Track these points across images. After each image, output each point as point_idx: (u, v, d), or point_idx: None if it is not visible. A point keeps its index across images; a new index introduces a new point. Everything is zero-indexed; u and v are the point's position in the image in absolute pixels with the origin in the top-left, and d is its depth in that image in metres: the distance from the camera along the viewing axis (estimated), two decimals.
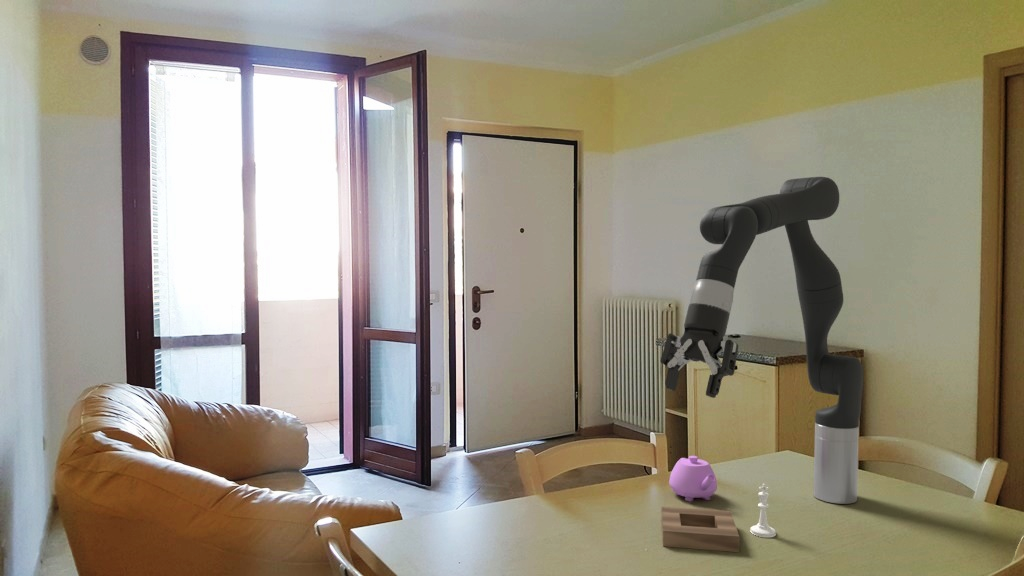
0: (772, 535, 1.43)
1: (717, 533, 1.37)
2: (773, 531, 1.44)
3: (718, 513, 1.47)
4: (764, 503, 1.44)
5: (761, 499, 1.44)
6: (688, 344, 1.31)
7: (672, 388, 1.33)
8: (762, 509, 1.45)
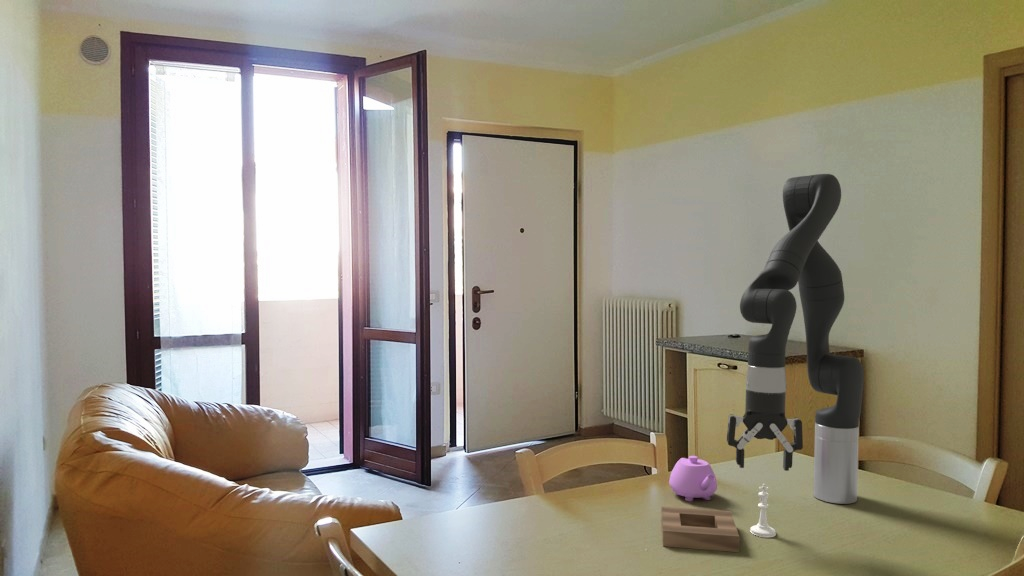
0: (772, 535, 1.43)
1: (717, 533, 1.37)
2: (773, 531, 1.44)
3: (718, 513, 1.47)
4: (764, 503, 1.44)
5: (761, 499, 1.44)
6: (759, 428, 1.43)
7: None
8: (762, 509, 1.45)
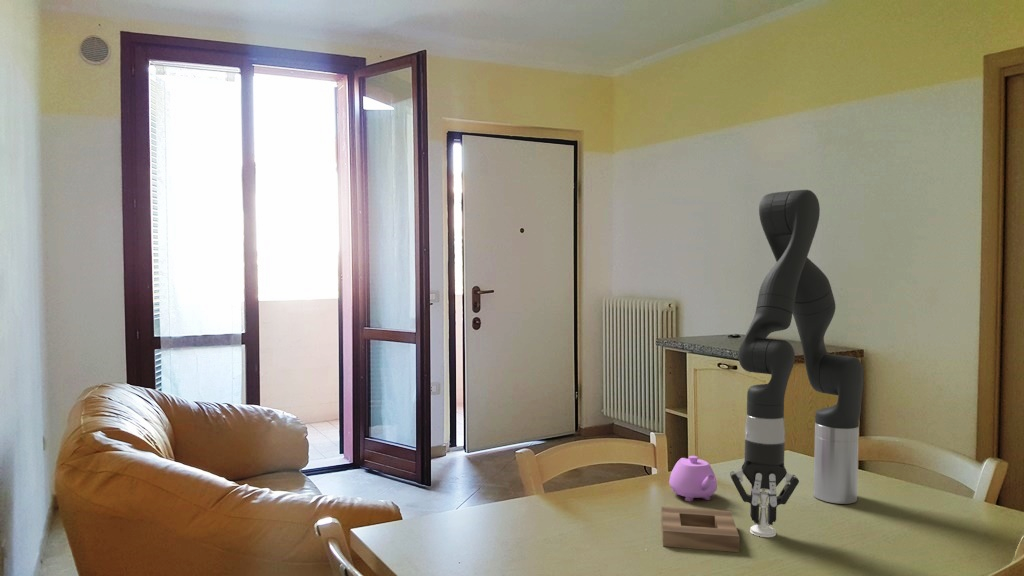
0: (772, 535, 1.43)
1: (717, 533, 1.37)
2: (773, 531, 1.44)
3: (718, 513, 1.47)
4: (764, 503, 1.44)
5: (761, 499, 1.44)
6: (759, 478, 1.43)
7: None
8: (762, 509, 1.45)
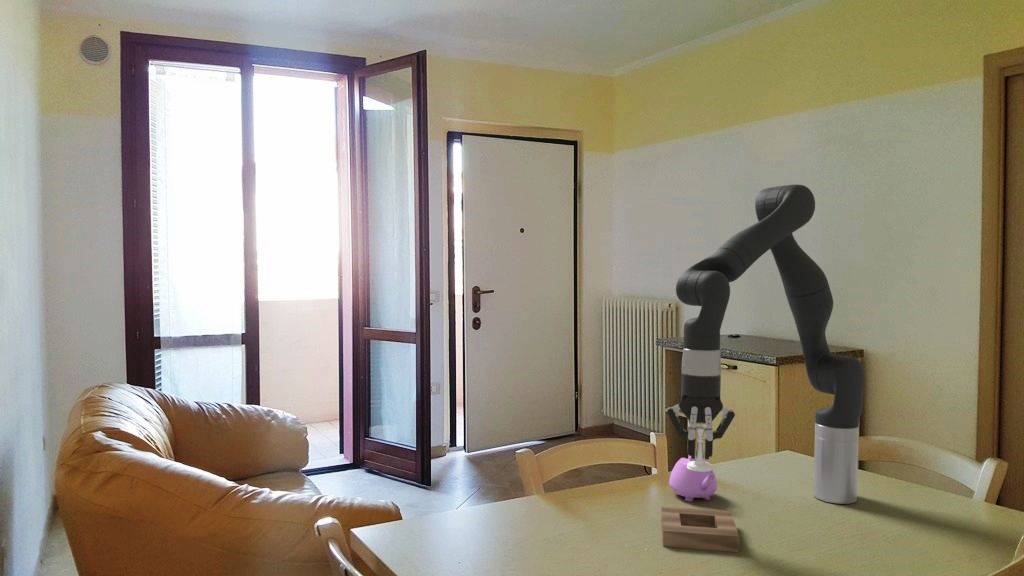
0: (708, 469, 1.41)
1: (717, 533, 1.37)
2: (709, 466, 1.42)
3: (718, 513, 1.47)
4: (700, 437, 1.42)
5: (697, 433, 1.42)
6: (695, 411, 1.41)
7: None
8: (698, 444, 1.42)
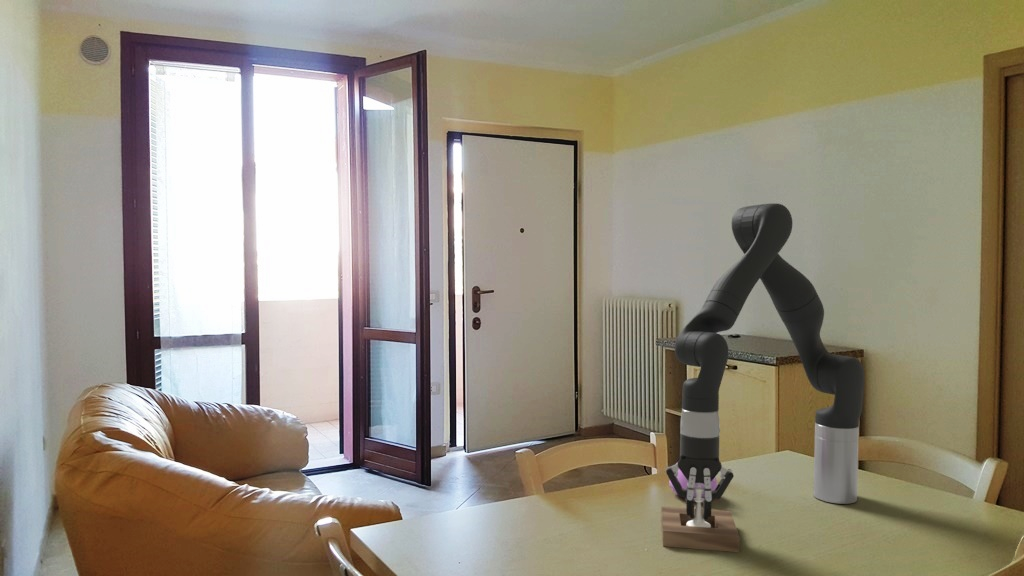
0: None
1: (717, 533, 1.37)
2: (708, 526, 1.42)
3: (718, 513, 1.47)
4: (699, 498, 1.43)
5: (696, 494, 1.43)
6: (694, 472, 1.41)
7: None
8: (697, 504, 1.43)
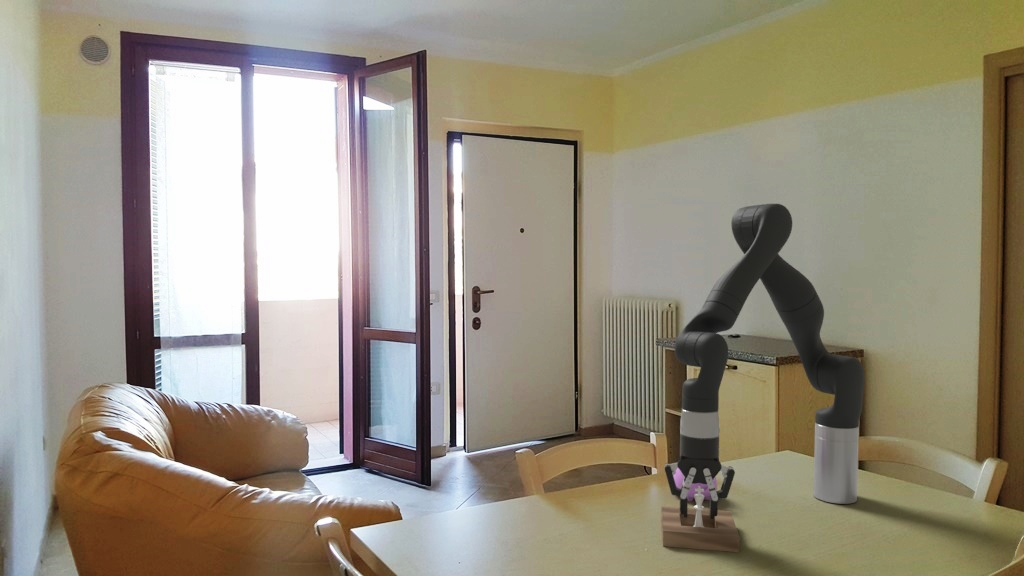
0: None
1: (717, 533, 1.37)
2: None
3: (718, 513, 1.47)
4: (699, 505, 1.43)
5: (696, 501, 1.43)
6: (693, 472, 1.41)
7: None
8: (697, 511, 1.43)
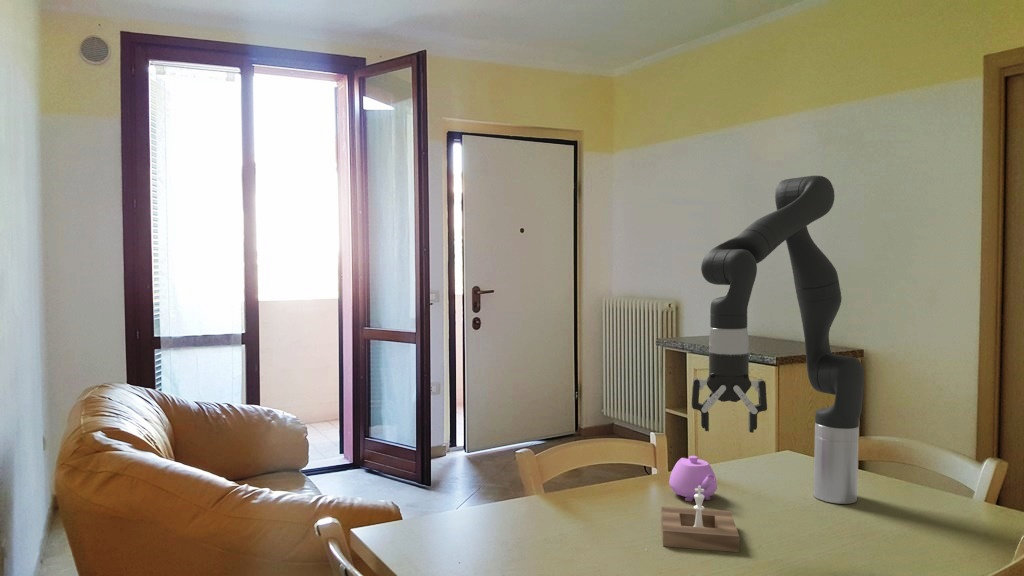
0: None
1: (717, 533, 1.37)
2: None
3: (718, 513, 1.47)
4: (699, 505, 1.43)
5: (696, 501, 1.43)
6: (722, 390, 1.41)
7: None
8: (697, 511, 1.43)
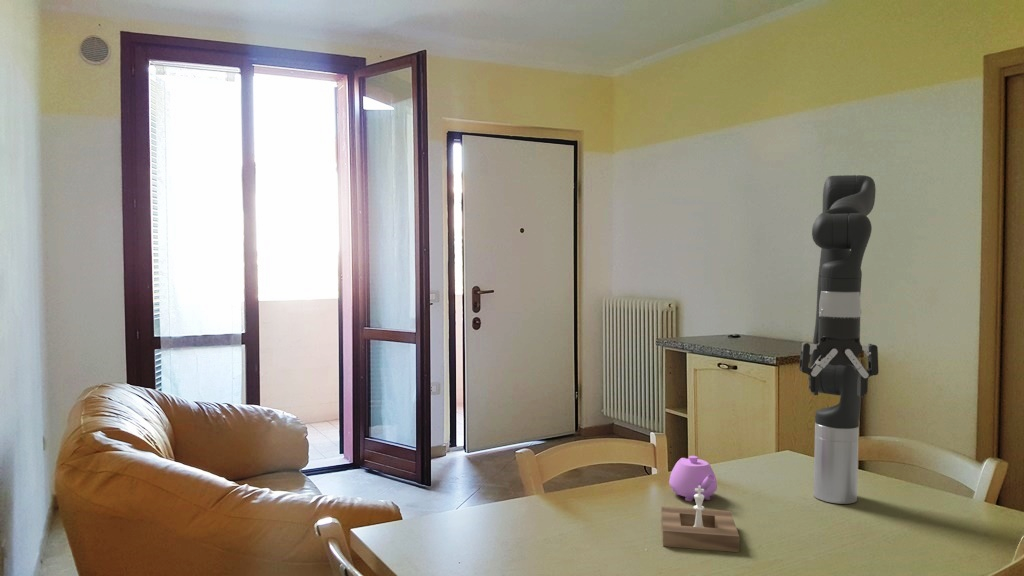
0: None
1: (717, 533, 1.37)
2: None
3: (718, 513, 1.47)
4: (699, 505, 1.43)
5: (696, 501, 1.43)
6: (833, 354, 1.41)
7: None
8: (697, 511, 1.43)
